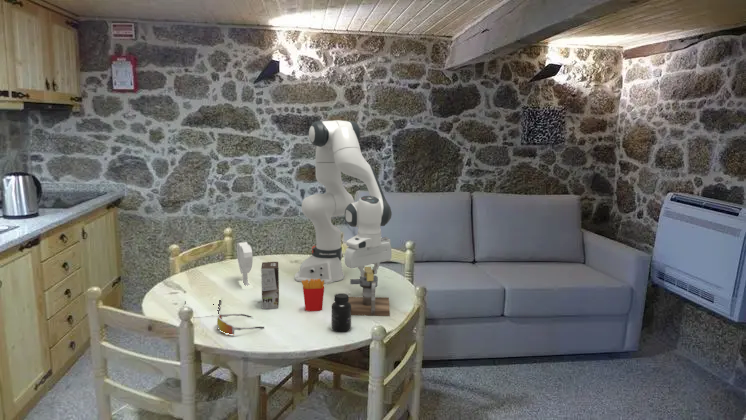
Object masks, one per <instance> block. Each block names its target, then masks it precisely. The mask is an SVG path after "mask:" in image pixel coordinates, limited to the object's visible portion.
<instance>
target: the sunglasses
mask: <svg viewBox="0 0 746 420" xmlns="http://www.w3.org/2000/svg"><path fill="white" fill-rule="evenodd" d="M230 316H236V317H247V318H249V317H253V316H252V315H249V314H245V313H224V314H222V313H220V314H219V315H218V316H217V319H216V320H217V322H216V323H217V329H218V328H219V330H218V331H220V330H221V331H223V332H225V333H229V334H234V335H235V331H243V330H255V329H257V330H258V329H262V328H263V329H265V328H264V327H265V326H251V327H250V326H248V327H247V326H246V327H244V326H243V327H241V326H234V325H232V324H229V323H228V322H227V321H224V320H223V318H227V317H230Z"/></svg>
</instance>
